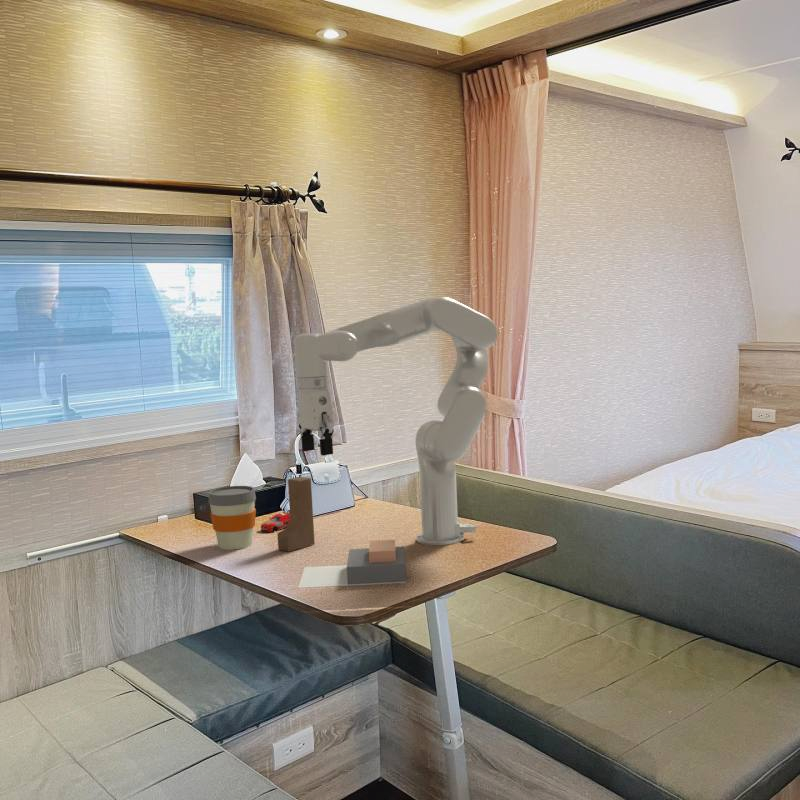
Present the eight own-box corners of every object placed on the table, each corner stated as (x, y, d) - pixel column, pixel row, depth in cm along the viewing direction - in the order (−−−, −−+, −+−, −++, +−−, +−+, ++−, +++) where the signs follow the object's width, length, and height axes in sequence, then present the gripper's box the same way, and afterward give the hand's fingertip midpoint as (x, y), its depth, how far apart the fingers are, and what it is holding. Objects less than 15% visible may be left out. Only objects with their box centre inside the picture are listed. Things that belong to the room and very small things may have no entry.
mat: (404, 563, 197) (404, 562, 197) (406, 584, 182) (406, 582, 182) (304, 568, 197) (304, 567, 197) (298, 589, 182) (298, 587, 182)
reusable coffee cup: (261, 548, 217) (258, 492, 215) (213, 554, 213) (209, 497, 212) (256, 536, 229) (252, 483, 227) (210, 542, 225) (206, 488, 224)
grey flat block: (404, 562, 197) (403, 546, 196) (406, 581, 183) (405, 564, 182) (350, 565, 197) (349, 549, 196) (347, 584, 183) (346, 567, 182)
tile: (395, 549, 194) (395, 539, 194) (396, 561, 185) (395, 550, 185) (370, 551, 194) (369, 540, 193) (369, 562, 185) (368, 551, 184)
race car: (269, 535, 231) (268, 521, 231) (256, 532, 235) (256, 518, 234) (303, 524, 241) (303, 511, 241) (291, 521, 245) (290, 508, 244)
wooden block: (288, 552, 211) (284, 483, 210) (277, 549, 215) (273, 482, 213) (315, 544, 218) (311, 477, 216) (304, 541, 221) (300, 476, 219)
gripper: (343, 383, 197) (348, 454, 198) (309, 381, 211) (314, 446, 213) (315, 387, 192) (320, 458, 194) (283, 384, 207) (288, 451, 209)
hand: (317, 452), depth 204 cm, fingers open, 9 cm apart
